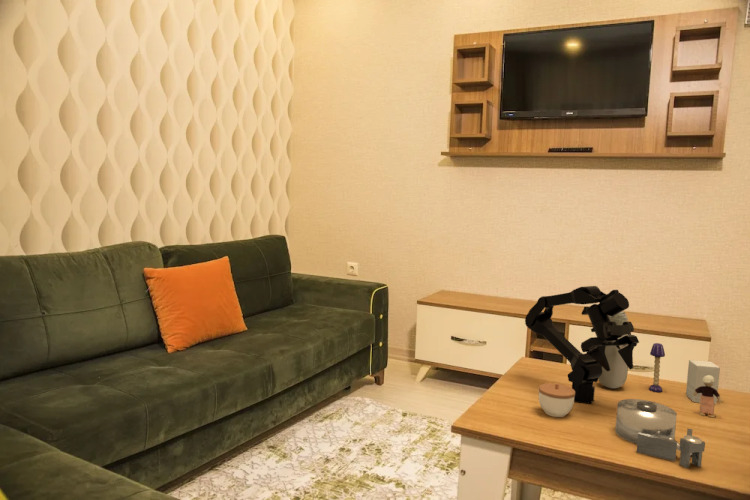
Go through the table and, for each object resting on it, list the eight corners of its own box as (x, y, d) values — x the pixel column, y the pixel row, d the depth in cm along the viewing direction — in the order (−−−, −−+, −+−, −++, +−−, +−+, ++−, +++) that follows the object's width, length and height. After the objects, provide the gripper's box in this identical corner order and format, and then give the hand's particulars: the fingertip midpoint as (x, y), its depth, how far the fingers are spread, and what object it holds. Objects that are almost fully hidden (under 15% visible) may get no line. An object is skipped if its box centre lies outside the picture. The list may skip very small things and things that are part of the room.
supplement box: (717, 404, 183) (720, 367, 181) (692, 402, 184) (696, 365, 183) (708, 397, 190) (712, 361, 189) (685, 394, 191) (688, 359, 190)
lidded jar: (579, 413, 171) (581, 384, 170) (564, 423, 163) (566, 392, 162) (546, 404, 178) (548, 375, 177) (530, 412, 170) (532, 383, 169)
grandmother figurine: (718, 414, 174) (722, 375, 172) (720, 419, 170) (724, 379, 169) (690, 410, 177) (694, 371, 176) (691, 414, 173) (695, 375, 172)
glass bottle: (592, 381, 202) (598, 306, 199) (621, 383, 201) (627, 307, 198) (599, 390, 192) (605, 311, 190) (630, 393, 191) (636, 313, 188)
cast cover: (614, 440, 153) (616, 408, 152) (616, 421, 166) (618, 391, 165) (675, 452, 146) (678, 419, 145) (672, 432, 160) (675, 401, 159)
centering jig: (634, 450, 146) (636, 425, 146) (688, 445, 150) (690, 421, 150) (667, 472, 135) (669, 444, 134) (724, 466, 139) (727, 439, 139)
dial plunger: (666, 446, 145) (666, 437, 145) (673, 445, 146) (674, 437, 146) (686, 459, 139) (687, 449, 138) (694, 458, 139) (695, 449, 139)
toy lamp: (656, 393, 192) (660, 346, 190) (644, 388, 196) (648, 343, 194) (665, 391, 194) (669, 345, 192) (652, 387, 198) (656, 341, 196)
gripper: (595, 312, 165) (615, 362, 158) (641, 311, 173) (662, 358, 165) (572, 327, 174) (590, 375, 167) (616, 325, 181) (635, 371, 174)
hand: (620, 369), depth 168 cm, fingers open, 9 cm apart
